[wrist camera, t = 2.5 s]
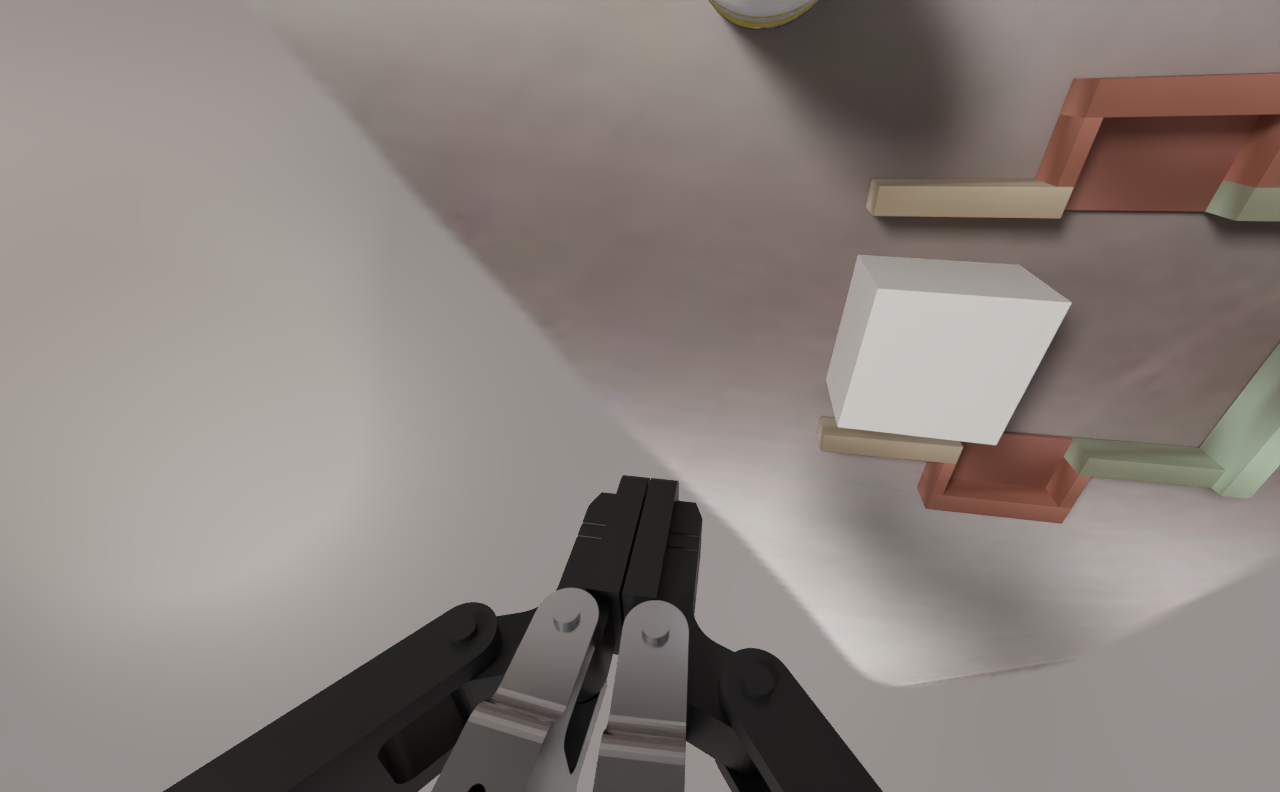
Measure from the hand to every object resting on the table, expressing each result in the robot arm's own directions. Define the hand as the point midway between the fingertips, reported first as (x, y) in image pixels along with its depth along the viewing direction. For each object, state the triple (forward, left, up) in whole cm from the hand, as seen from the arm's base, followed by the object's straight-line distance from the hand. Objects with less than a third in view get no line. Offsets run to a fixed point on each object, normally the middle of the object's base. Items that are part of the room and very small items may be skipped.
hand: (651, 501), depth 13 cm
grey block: (0, +10, -12) cm, 15 cm away
